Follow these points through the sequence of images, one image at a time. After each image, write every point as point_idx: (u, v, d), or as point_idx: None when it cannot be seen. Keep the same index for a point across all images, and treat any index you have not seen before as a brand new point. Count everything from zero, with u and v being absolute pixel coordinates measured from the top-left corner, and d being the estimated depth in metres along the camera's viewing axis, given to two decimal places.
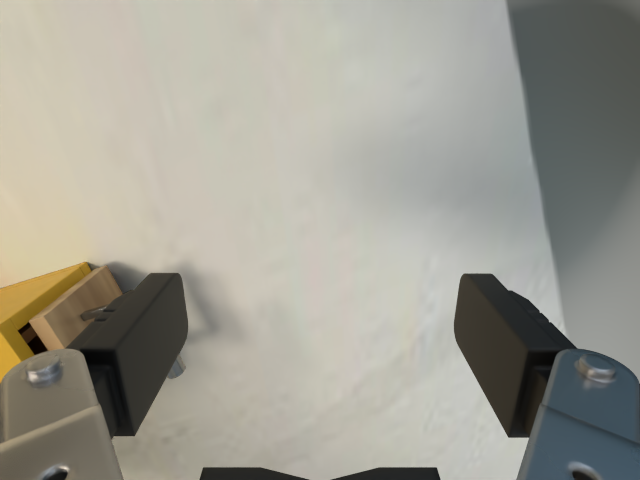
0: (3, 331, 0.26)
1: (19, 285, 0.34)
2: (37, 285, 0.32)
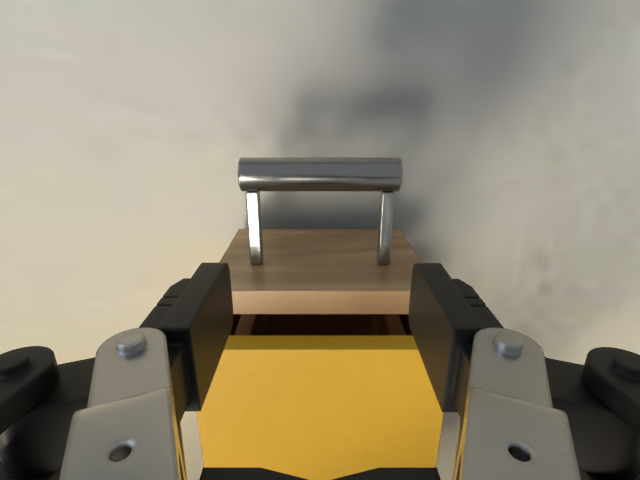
0: None
1: None
2: None
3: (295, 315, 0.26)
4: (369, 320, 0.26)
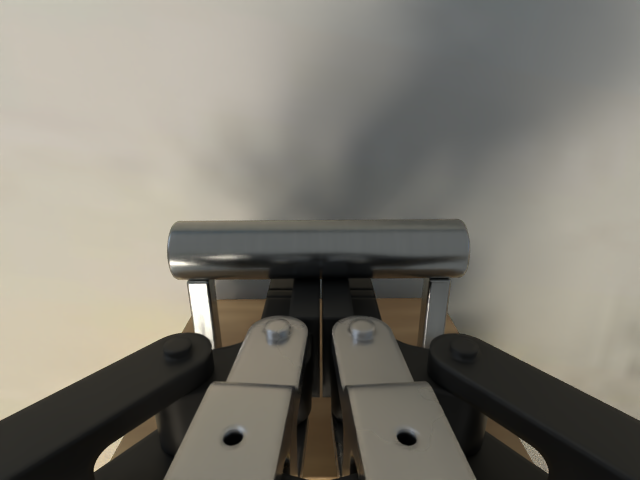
0: None
1: None
2: None
3: None
4: None
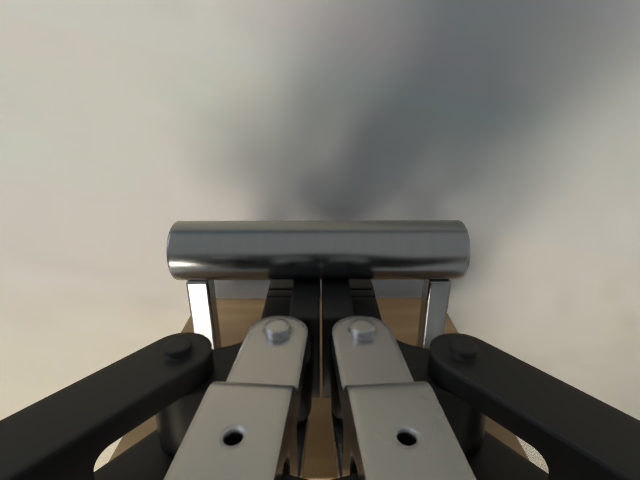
0: None
1: None
2: None
3: None
4: None
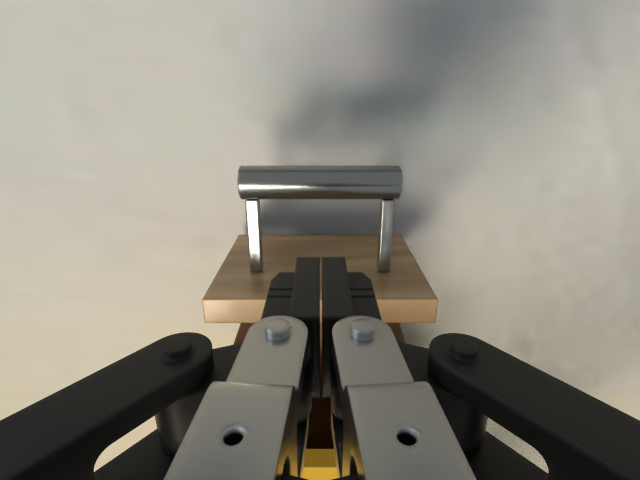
0: None
1: None
2: None
3: None
4: None
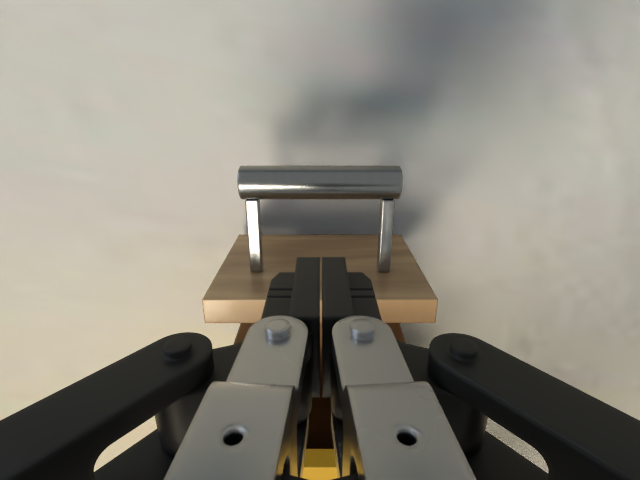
0: None
1: None
2: None
3: None
4: None
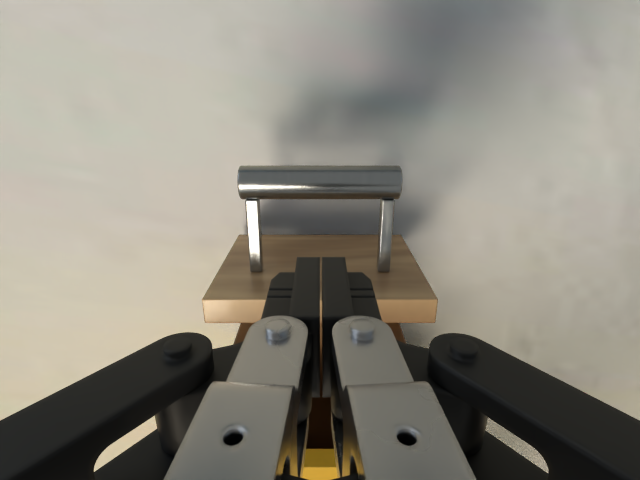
0: None
1: None
2: None
3: None
4: None
